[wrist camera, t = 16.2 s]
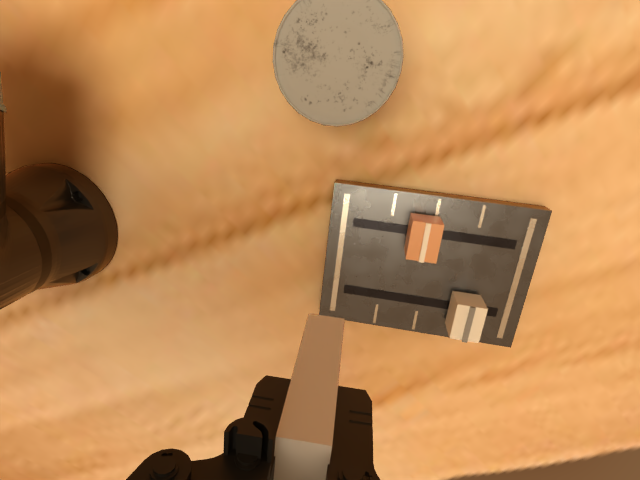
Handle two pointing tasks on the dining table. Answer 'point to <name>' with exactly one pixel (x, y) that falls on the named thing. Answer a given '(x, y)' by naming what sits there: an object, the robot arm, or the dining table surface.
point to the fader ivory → (465, 316)
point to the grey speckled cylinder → (337, 59)
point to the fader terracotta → (423, 238)
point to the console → (427, 278)
